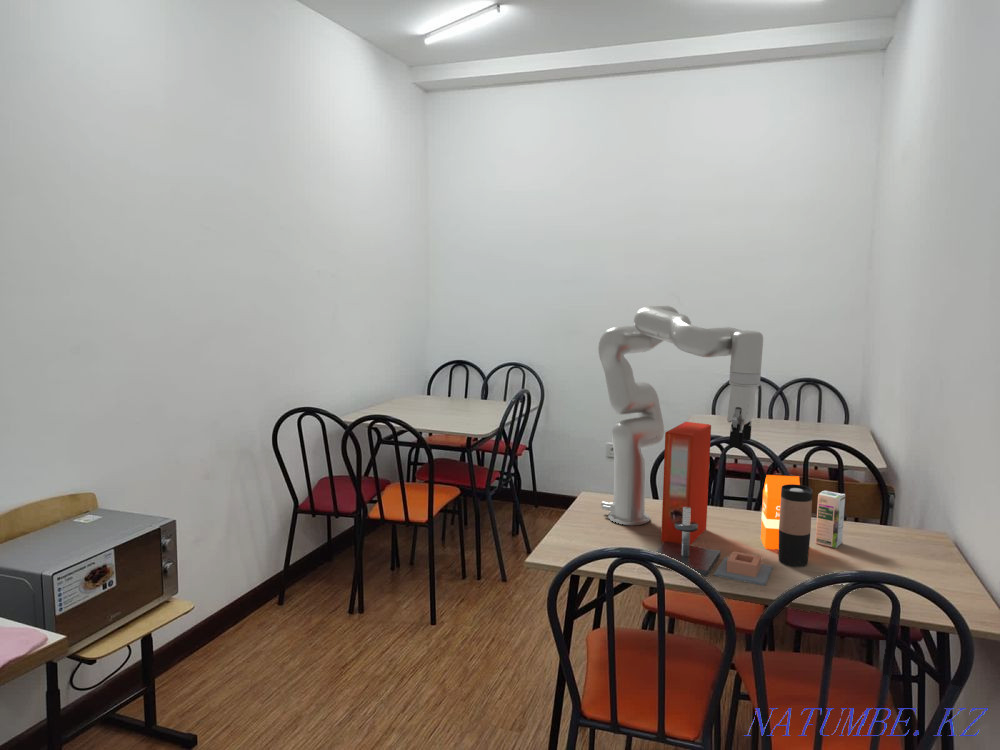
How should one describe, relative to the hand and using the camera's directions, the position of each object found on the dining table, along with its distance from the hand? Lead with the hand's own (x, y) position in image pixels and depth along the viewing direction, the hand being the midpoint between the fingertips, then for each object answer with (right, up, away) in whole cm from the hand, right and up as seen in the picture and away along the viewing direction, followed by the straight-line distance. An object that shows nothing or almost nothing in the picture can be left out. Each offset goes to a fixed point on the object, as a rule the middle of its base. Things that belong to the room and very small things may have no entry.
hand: (739, 443), depth 184 cm
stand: (-14, -31, +3) cm, 34 cm away
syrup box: (+30, -30, +15) cm, 45 cm away
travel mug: (+15, -32, +2) cm, 35 cm away
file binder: (-9, -29, +21) cm, 37 cm away
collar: (-1, -32, -5) cm, 32 cm away
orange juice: (+16, -30, +14) cm, 37 cm away
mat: (-1, -32, -5) cm, 33 cm away
